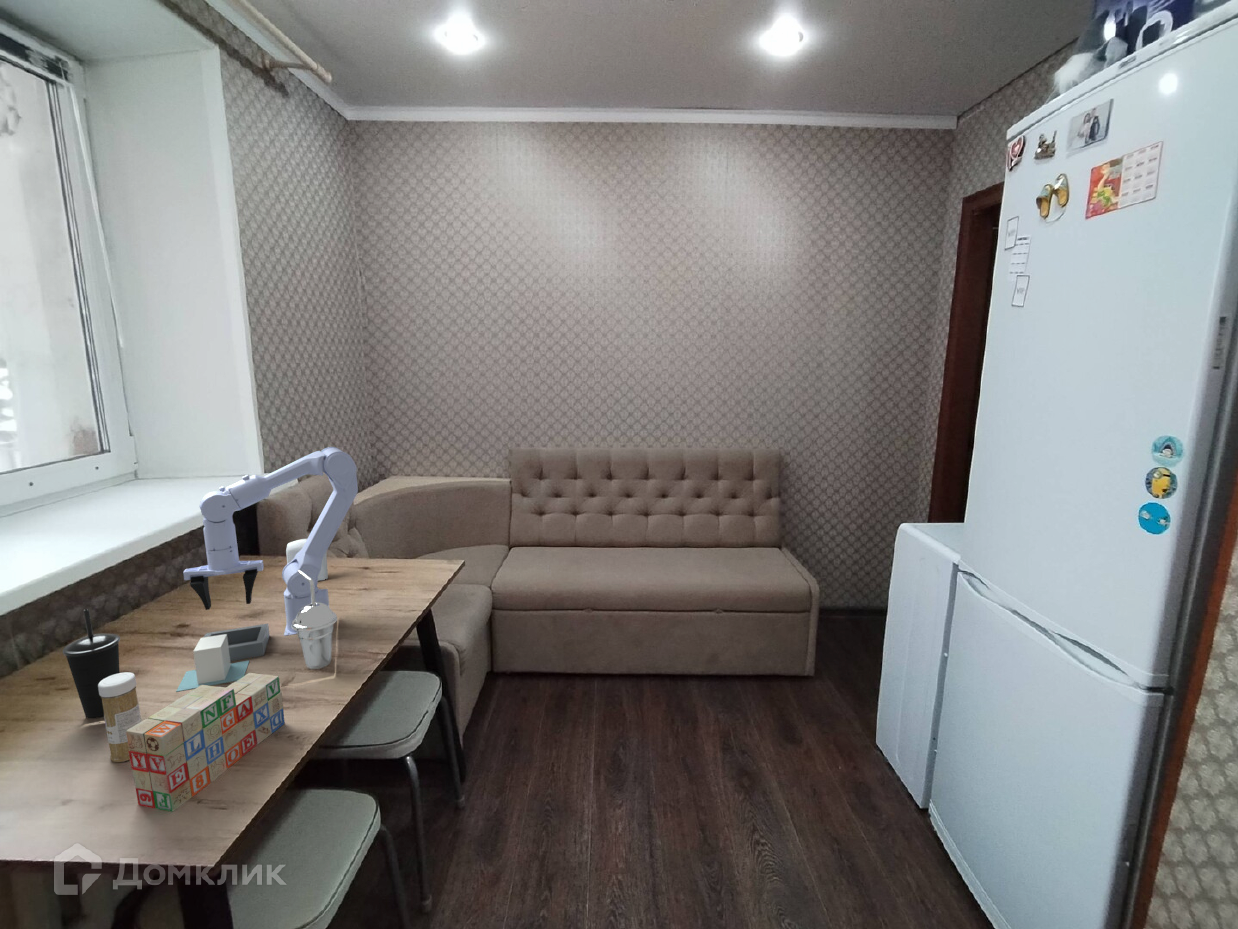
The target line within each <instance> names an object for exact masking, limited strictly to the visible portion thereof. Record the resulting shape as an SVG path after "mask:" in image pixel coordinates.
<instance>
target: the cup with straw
mask: <svg viewBox="0 0 1238 929" xmlns="http://www.w3.org/2000/svg"><path fill="white" fill-rule="evenodd" d="M298 573H299V574H300V575H302V576H303V577H304V578H306V579H307V580H308V581H309V582H310V590H311V600H312V603H309V604H307V605H305V606H304V607H302V608H301V609H300V610H299V612H298V614H297V616H296V618H295V619H294V620H293V622H292V629H293V630H295V631H297V634H296V635H297V636H298V639H299V642H300V645H301V649H302V654H303V659H304V662H305V666H307V668H308V669H310V670H318V669H322V668H325V667H327V666H328V665H330V663H331V660H332V652H333V650H332V649H333V645H332V644H333V631H334V627H335V626H334V624H335V623H336V622H337V621H338V616H337V614H336V612H334V611H333V610H332V609H331V607H330V606H329V607H328V606H327V605H326V604H324V603H320V602H315V592H314V582H313V580H312V578H310V577H309V576H308V575H306V574H305V573H304V572H303V571H301V570H298Z"/></svg>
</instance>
